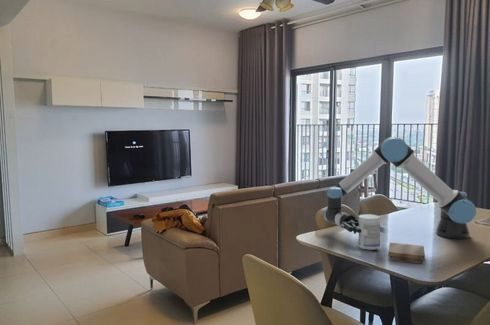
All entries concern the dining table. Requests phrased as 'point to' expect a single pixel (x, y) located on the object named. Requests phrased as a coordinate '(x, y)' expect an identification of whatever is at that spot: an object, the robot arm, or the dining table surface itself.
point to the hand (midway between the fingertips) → (375, 231)
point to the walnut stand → (406, 252)
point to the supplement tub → (369, 231)
